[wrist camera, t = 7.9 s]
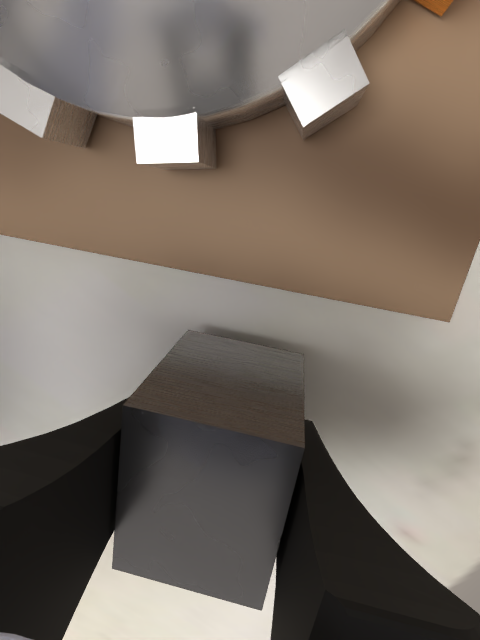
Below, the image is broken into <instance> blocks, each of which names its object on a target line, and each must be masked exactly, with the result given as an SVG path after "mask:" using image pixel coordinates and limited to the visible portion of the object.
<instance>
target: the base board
mask: <svg viewBox="0 0 480 640" xmlns="http://www.w3.org/2000/svg"><path fill="white" fill-rule="evenodd" d="M356 55H357V57H358V59H359V61H360V63H361V66H362V68H363V70H364V72H365V74H366V76H367V79H368V81H369V85H368V87H367V89H366V90H365V92H364V94H363V96H362V98H361V99H360V101H359V103H358V105H357V106H355V107H354V108H352V109H351V110H349V111H348V112H346V113H345V114H343V115H341V116H340V117H338V118H337V119H335V120H334V121H332V122H331V123H329V124H328V125H326V126H324V127H323V128H321V129H320V130H318V131H317V132H315V133H314V134H312V135H311V136H309V137H308V138H306V139H304V140H303V139H302V137H301V135H300V133H299V131H298V129H297V127H296V125H295V123H294V121H293V119H292V117H291V115H290V113H289V111H288V109H287V107H286V105H283V106H282V107H280V108H277V109H275V110H273V111H270V112H268V113H266V114H263V115H261V116H259V117H256V118H254V119H252V120H249V121H245V122H241V123H238V124H234V125H230V126H227V127H223V128H219V129H215V137H216V168H215V169H177V170H163V169H159V168H154V167H149V166H145V165H140V164H137V160H136V149H135V137H134V127H133V126H128V125H125V124H122V123H119V122H117V121H114V120H111V119H108V118H105V117H102V116H99V115H97V116H96V119H95V122H94V125H93V127H92V130H91V133H90V136H89V139H88V142H87V144H86V147H85V148H81V147H77V146H73V145H69V144H65V143H60V142H56V141H52V140H48V139H44V138H41V137H39V136H38V135H36V134H34V133H33V132H31V131H29V130H28V129H26V128H24V127H23V126H21V125H19V124H17V123H16V122H14V121H12V120H11V119H9V118H7V117H6V116H4V115H2V114H1V113H0V234H1V235H6V236H11V237H16V238H21V239H26V240H31V241H36V242H42V243H47V244H52V245H57V246H62V247H67V248H72V249H77V250H83V251H88V252H93V253H98V254H103V255H108V256H113V257H118V258H123V259H129V260H134V261H139V262H144V263H149V264H154V265H159V266H164V267H169V268H175V269H180V270H185V271H190V272H195V273H200V274H205V275H210V276H215V277H221V278H226V279H231V280H236V281H241V282H246V283H251V284H256V285H261V286H267V287H272V288H277V289H282V290H287V291H292V292H297V293H302V294H307V295H313V296H318V297H323V298H328V299H333V300H338V301H343V302H348V303H353V304H359V305H364V306H369V307H374V308H379V309H384V310H389V311H394V312H399V313H405V314H410V315H415V316H420V317H425V318H430V319H435V320H440V321H445V322H450V320H451V317H452V314H453V311H454V309H455V306H456V303H457V301H458V298H459V295H460V292H461V290H462V287H463V284H464V282H465V279H466V276H467V273H468V271H469V268H470V265H471V263H472V260H473V257H474V254H475V252H476V249H477V246H478V244H479V241H480V0H453V2H452V3H451V4H450V6H449V7H448V8H447V10H446V11H445V12H444V14H443V15H442V16H439V15H437V14H436V13H434V12H433V11H431V10H429V9H428V8H426V7H424V6H423V5H421V4H420V3H418V2H416V1H415V0H400V1H399V3H398V4H397V5H396V6H395V8H394V9H393V10H392V11H391V12H390V14H389V15H388V16H387V17H386V19H385V20H384V21H383V22H382V24H381V25H380V26H379V27H378V29H377V30H376V31H375V32H374V34H373V35H372V36H371V37H370V38H369V39H368V40H367V41H366V42H365V43H364V44H363V45H362V46H361V47H360V48H359V49H358V50H357V51H356Z"/></svg>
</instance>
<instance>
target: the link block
mask: <svg viewBox="0 0 480 640" xmlns="http://www.w3.org/2000/svg"><path fill="white" fill-rule="evenodd" d="M304 449H305V433H304V356H303V354H300V353H295V352H291V351H286V350H281V349H276V348H272V347H267V346H262V345H258V344H253V343H248V342H243V341H239V340H234V339H229V338H224V337H220V336H215V335H210V334H206V333H201V332H196V331H191V330H188V331H187V332H186V333H185V334H184V336H183V337H182V338H181V339H180V340H179V341H178V342H177V344H176V345H175V346H174V347H173V348H172V349H171V350H170V352H169V353H168V354H167V355H166V356H165V357H164V358H163V360H162V361H161V362H160V363H159V364H158V365H157V366H156V368H155V369H154V370H153V371H152V372H151V373H150V374H149V376H148V377H147V378H146V379H145V380H144V381H143V383H142V384H141V385H140V386H139V387H138V388H137V389H136V391H135V392H134V393H133V394H132V395H131V396H130V397H129V399H128V400H127V401H126V402H125V403H124V404H123V411H122V426H121V441H120V456H119V471H118V486H117V501H116V517H115V532H114V547H113V562H112V569H115V570H119V571H123V572H126V573H130V574H133V575H137V576H140V577H144V578H147V579H151V580H155V581H158V582H162V583H165V584H169V585H172V586H176V587H179V588H183V589H186V590H190V591H194V592H197V593H201V594H204V595H208V596H211V597H215V598H218V599H222V600H226V601H229V602H233V603H236V604H240V605H243V606H247V607H250V608H254V609H257V610H261V611H262V608H263V604H264V600H265V596H266V593H267V589H268V585H269V581H270V577H271V574H272V570H273V566H274V562H275V559H276V555H277V551H278V547H279V543H280V540H281V536H282V532H283V528H284V524H285V521H286V517H287V513H288V509H289V505H290V502H291V498H292V494H293V490H294V487H295V483H296V479H297V475H298V471H299V468H300V464H301V460H302V456H303V452H304Z"/></svg>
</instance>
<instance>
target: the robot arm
mask: <svg viewBox="0 0 480 640" xmlns="http://www.w3.org/2000/svg"><path fill="white" fill-rule="evenodd" d="M128 399H129V397H128V398H127V399H125V400H123V401H121V402H119V403H117V404H115V405H113V406H111V407H109V408H107V409H105V410H103V411H101V412H98V413H96V414H94V415H92V416H90V417H87V418H85V419H83V420H81V421H78V422H76V423H74V424H71V425H68V426H66V427H63V428H60V429H57V430H54V431H52V432H49V433H46V434H43V435H39V436H36V437H32V438H29V439H25V440H21V441H18V442H14V443H11V444H7V445H3V446H0V640H62V639H63V637H64V634H65V632H66V630H67V628H68V625H69V623H70V621H71V619H72V617H73V614H74V612H75V610H76V608H77V606H78V603H79V601H80V599H81V597H82V595H83V593H84V591H85V588H86V586H87V584H88V582H89V580H90V578H91V576H92V574H93V571H94V569H95V567H96V565H97V563H98V561H99V559H100V557H101V555H102V553H103V551H104V549H105V547H106V545H107V543H108V541H109V539H110V537H111V535H112V534H113V532H114V530H115V517H116V501H117V486H118V471H119V456H120V441H121V426H122V411H123V404H124V403H125V402H126V401H127V400H128ZM304 433H305V449H304V452H303V456H302V460H301V464H300V468H299V471H298V475H297V479H296V483H295V487H294V490H293V494H292V498H291V502H290V505H289V509H288V513H287V517H286V521H285V524H284V528H283V532H282V536H281V540H280V543H279V547H278V551H277V555H276V588H275V599H274V610H273V621H272V631H271V640H480V615H479V614H478V613H477V612H476V611H475V610H473V609H472V608H471V607H470V606H468V605H467V604H466V603H465V602H463V601H462V600H461V599H460V598H458V597H457V596H456V595H454V594H453V593H452V592H451V591H450V590H448V589H447V588H446V587H445V586H443V585H442V584H441V583H440V582H438V581H437V580H436V579H435V578H434V577H433V576H431V575H430V574H429V573H428V572H427V571H426V570H425V569H424V568H423V567H421V566H420V565H419V564H418V563H417V562H416V561H415V560H414V559H413V558H412V557H410V556H409V555H408V554H407V553H406V552H405V551H404V550H403V549H402V548H401V547H400V546H399V545H398V544H397V543H396V542H395V541H394V540H393V539H392V538H391V536H390V535H389V534H388V533H387V532H386V531H385V530H384V529H383V528H382V527H381V526H380V525H379V524H378V523H377V521H376V520H375V519H374V518H373V517H372V516H371V514H370V513H369V512H368V511H367V510H366V508H365V507H364V506H363V505H362V503H361V502H360V501H359V500H358V498H357V497H356V496H355V494H354V493H353V492H352V490H351V489H350V487H349V486H348V484H347V483H346V481H345V480H344V478H343V477H342V475H341V474H340V472H339V470H338V469H337V467H336V465H335V464H334V462H333V460H332V459H331V457H330V455H329V453H328V452H327V450H326V448H325V446H324V444H323V442H322V440H321V438H320V436H319V434H318V432H317V430H316V428H315V426H314V424H313V422H312V421H309V420H304Z"/></svg>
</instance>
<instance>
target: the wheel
mask: <svg viewBox="0 0 480 640" xmlns="http://www.w3.org/2000/svg"><path fill="white" fill-rule="evenodd" d="M399 1H400V0H0V113H1V114H2V115H4V116H6V117H7V118H9V119H11V120H12V121H14V122H16V123H17V124H19V125H21V126H23V127H24V128H26V129H28V130H29V131H31V132H33V133H34V134H36V135H38V136H39V137H41V138H44V139H48V140H52V141H56V142H60V143H65V144H69V145H73V146H77V147H81V148H85V147H86V144H87V142H88V139H89V136H90V133H91V130H92V127H93V125H94V122H95V119H96V116H97V115H99V116H102V117H105V118H108V119H111V120H114V121H117V122H119V123H122V124H125V125H128V126H133V127H134V137H135V149H136V160H137V164H140V165H145V166H149V167H154V168H159V169H163V170H177V169H215V168H216V137H215V129H219V128H223V127H227V126H230V125H234V124H238V123H241V122H245V121H249V120H252V119H254V118H256V117H259V116H261V115H263V114H266V113H268V112H270V111H273V110H275V109H277V108H280V107H282V106H283V105H286V107H287V109H288V111H289V113H290V115H291V117H292V119H293V121H294V123H295V125H296V127H297V129H298V131H299V133H300V135H301V137H302V139H303V140H304V139H306V138H308V137H309V136H311V135H312V134H314V133H315V132H317V131H318V130H320V129H321V128H323V127H324V126H326V125H328V124H329V123H331V122H332V121H334V120H335V119H337V118H338V117H340V116H341V115H343V114H345V113H346V112H348V111H349V110H351V109H352V108H354V107H355V106H357V105H358V103H359V101H360V99H361V98H362V96H363V94H364V92H365V90H366V89H367V87H368V85H369V81H368V79H367V76H366V74H365V72H364V70H363V68H362V66H361V63H360V61H359V59H358V57H357V55H356V51H357V50H358V49H359V48H360V47H361V46H362V45H363V44H364V43H365V42H366V41H367V40H368V39H369V38H370V37H371V36H372V35H373V34H374V32H375V31H376V30H377V29H378V27H379V26H380V25H381V24H382V22H383V21H384V20H385V19H386V17H387V16H388V15H389V14H390V12H391V11H392V10H393V9H394V8H395V6H396V5H397V4H398V3H399ZM415 1H416V2H418V3H420V4H421V5H423V6H424V7H426V8H428V9H429V10H431V11H433V12H434V13H436V14H437V15H439V16H442V15H443V14H444V12H445V11H446V10H447V8H448V7H449V6H450V4H451V3H452V2H453V0H415Z"/></svg>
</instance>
